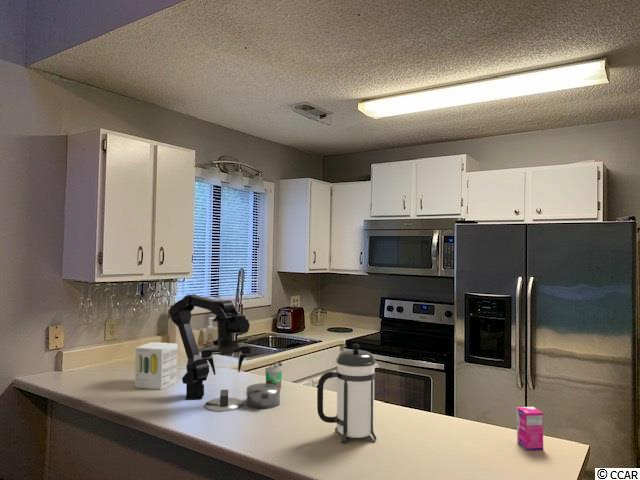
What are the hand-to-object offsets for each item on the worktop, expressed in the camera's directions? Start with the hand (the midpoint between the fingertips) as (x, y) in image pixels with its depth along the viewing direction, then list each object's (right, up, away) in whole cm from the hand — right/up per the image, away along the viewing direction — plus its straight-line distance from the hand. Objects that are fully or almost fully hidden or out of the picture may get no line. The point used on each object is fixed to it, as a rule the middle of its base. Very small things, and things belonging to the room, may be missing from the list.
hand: (226, 373), depth 183 cm
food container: (+17, -13, +23) cm, 32 cm away
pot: (+14, -12, +2) cm, 19 cm away
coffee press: (+46, -12, -30) cm, 57 cm away
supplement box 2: (+101, -13, -36) cm, 108 cm away
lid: (-1, -12, -1) cm, 13 cm away
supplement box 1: (-37, -13, +26) cm, 47 cm away
